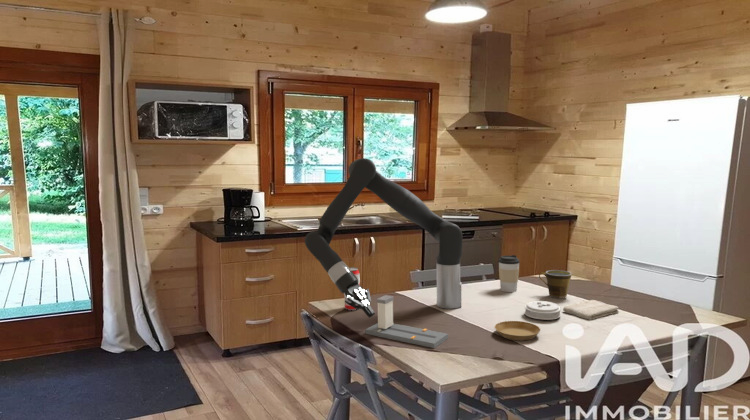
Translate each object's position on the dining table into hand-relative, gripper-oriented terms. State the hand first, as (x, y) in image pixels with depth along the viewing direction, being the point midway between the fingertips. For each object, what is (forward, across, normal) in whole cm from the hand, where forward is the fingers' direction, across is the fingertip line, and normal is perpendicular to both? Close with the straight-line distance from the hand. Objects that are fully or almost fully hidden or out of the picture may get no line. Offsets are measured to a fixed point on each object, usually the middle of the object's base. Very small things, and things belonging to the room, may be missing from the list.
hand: (372, 315), depth 183 cm
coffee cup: (+21, +71, -14) cm, 75 cm away
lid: (+37, +43, -29) cm, 64 cm away
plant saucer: (+36, +20, -28) cm, 49 cm away
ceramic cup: (+35, +71, -27) cm, 84 cm away
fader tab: (+6, 0, -2) cm, 6 cm away
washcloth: (+47, +56, -39) cm, 84 cm away
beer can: (-10, +16, +18) cm, 26 cm away
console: (+13, 0, -6) cm, 14 cm away
